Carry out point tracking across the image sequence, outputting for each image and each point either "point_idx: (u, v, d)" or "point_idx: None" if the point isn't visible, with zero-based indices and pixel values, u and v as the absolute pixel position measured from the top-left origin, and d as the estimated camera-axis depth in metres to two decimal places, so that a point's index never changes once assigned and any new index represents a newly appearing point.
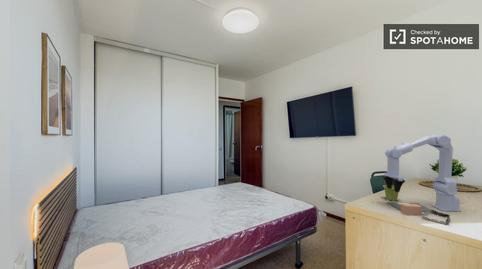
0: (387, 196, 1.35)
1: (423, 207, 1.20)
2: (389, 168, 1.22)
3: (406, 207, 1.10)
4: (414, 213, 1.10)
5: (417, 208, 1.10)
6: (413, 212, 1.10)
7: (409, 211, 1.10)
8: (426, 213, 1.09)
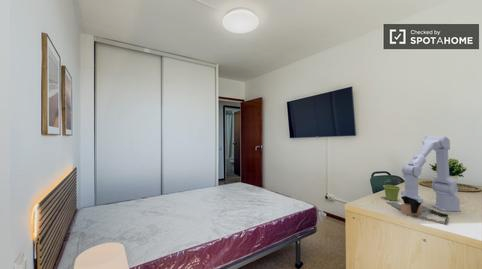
0: (387, 196, 1.35)
1: (423, 207, 1.20)
2: (407, 187, 1.11)
3: (406, 207, 1.10)
4: (414, 213, 1.10)
5: None
6: None
7: (409, 211, 1.10)
8: (425, 213, 1.10)
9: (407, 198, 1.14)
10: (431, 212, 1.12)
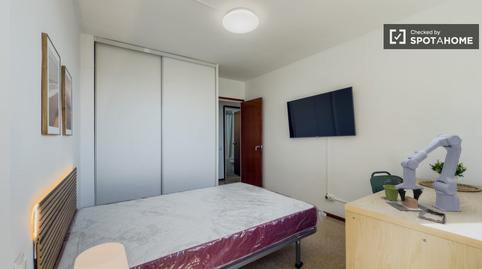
0: (387, 196, 1.35)
1: (423, 207, 1.20)
2: None
3: None
4: (405, 204, 1.22)
5: (407, 200, 1.21)
6: (405, 203, 1.23)
7: None
8: (422, 212, 1.10)
9: (414, 190, 1.22)
10: (428, 211, 1.13)
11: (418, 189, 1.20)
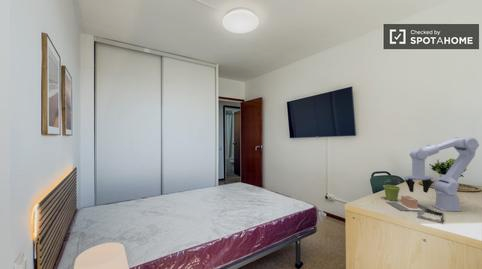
0: (387, 196, 1.35)
1: (423, 207, 1.20)
2: None
3: (401, 197, 1.26)
4: (405, 204, 1.22)
5: (407, 200, 1.21)
6: (405, 203, 1.23)
7: (403, 201, 1.24)
8: (421, 212, 1.11)
9: (424, 181, 1.21)
10: (426, 211, 1.13)
11: (427, 180, 1.20)
